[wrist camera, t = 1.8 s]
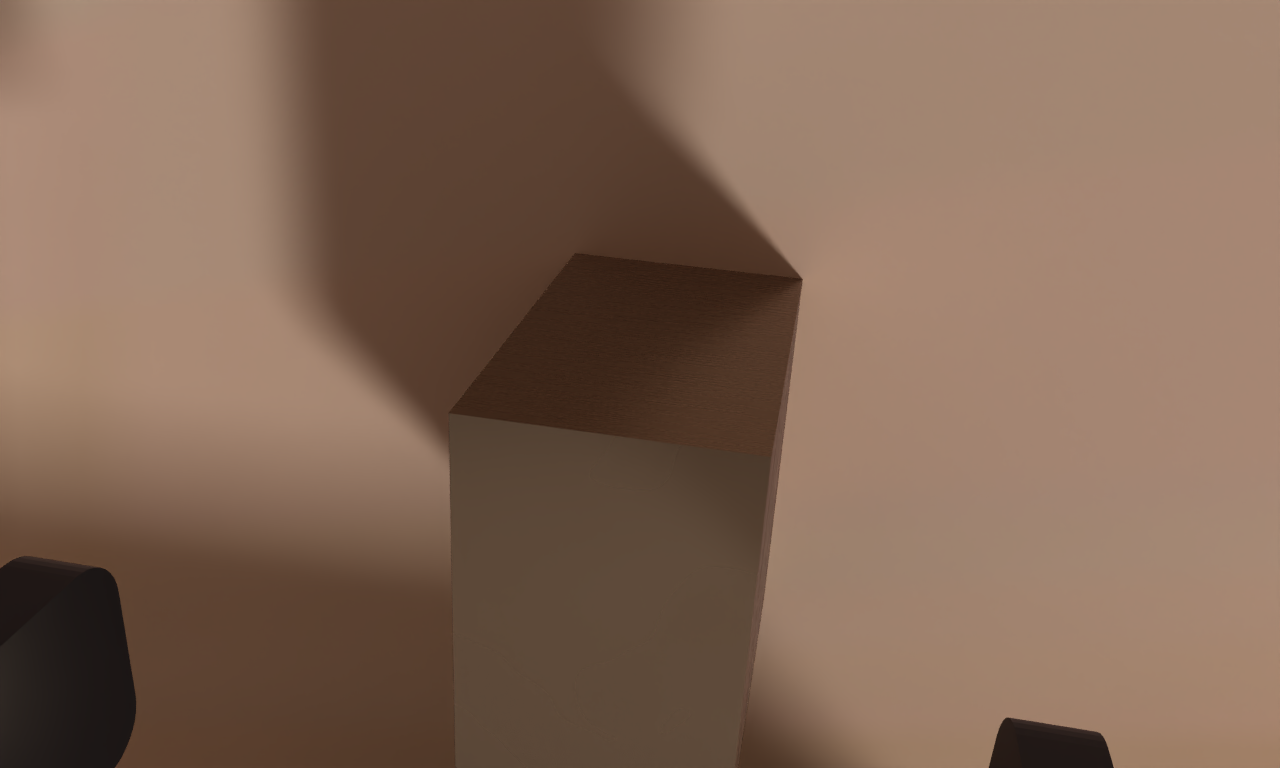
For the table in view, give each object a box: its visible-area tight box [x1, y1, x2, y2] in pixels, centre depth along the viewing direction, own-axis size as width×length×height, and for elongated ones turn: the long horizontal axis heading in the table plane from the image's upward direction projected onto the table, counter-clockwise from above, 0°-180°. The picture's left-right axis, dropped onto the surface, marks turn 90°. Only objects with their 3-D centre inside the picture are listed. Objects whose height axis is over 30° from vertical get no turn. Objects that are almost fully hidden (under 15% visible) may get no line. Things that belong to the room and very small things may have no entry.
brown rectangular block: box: [449, 253, 803, 768], centre depth 14 cm, size 3×5×5 cm, turn 177°
